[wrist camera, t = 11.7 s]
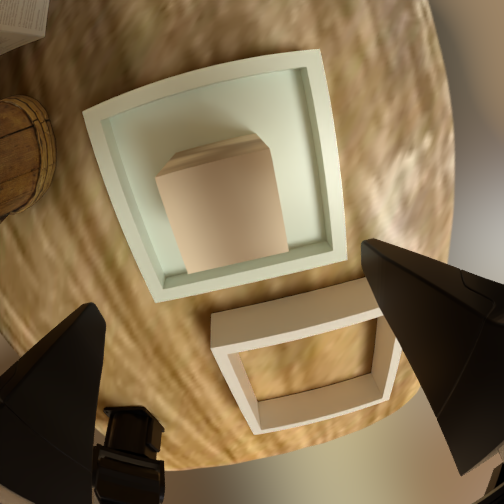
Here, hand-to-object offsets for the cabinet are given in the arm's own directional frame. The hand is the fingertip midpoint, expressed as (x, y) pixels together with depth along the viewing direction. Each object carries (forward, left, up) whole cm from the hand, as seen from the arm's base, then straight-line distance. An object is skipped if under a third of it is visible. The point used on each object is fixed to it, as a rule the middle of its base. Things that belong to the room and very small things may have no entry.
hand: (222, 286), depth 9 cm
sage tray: (0, 0, -12) cm, 12 cm away
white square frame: (+4, -19, -12) cm, 23 cm away
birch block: (0, 0, -11) cm, 11 cm away
